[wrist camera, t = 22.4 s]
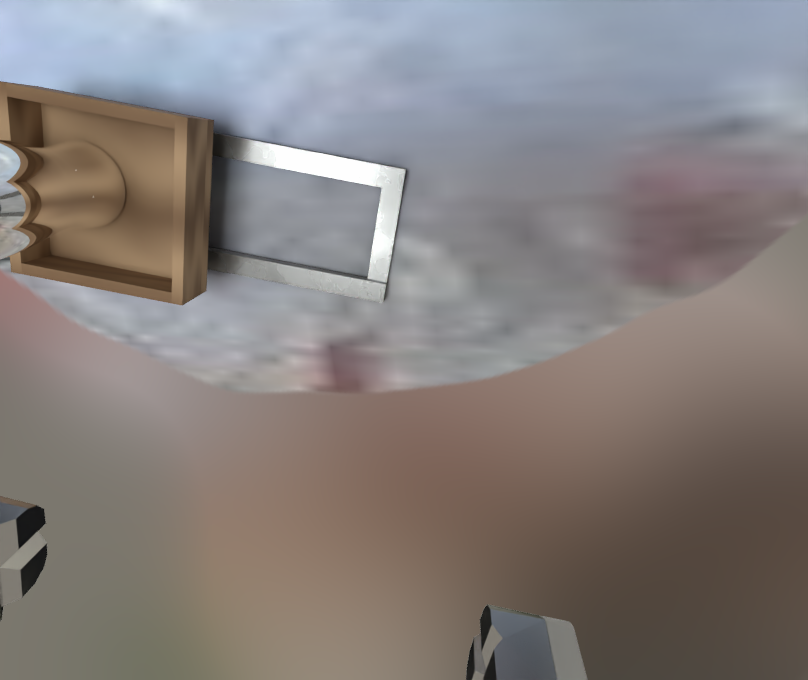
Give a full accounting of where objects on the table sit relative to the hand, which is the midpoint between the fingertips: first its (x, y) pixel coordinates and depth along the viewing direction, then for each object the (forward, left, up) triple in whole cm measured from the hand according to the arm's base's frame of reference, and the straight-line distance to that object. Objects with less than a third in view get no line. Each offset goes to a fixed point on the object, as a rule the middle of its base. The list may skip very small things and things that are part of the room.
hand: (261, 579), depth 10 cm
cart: (0, -21, -34) cm, 40 cm away
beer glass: (0, -24, -31) cm, 39 cm away
